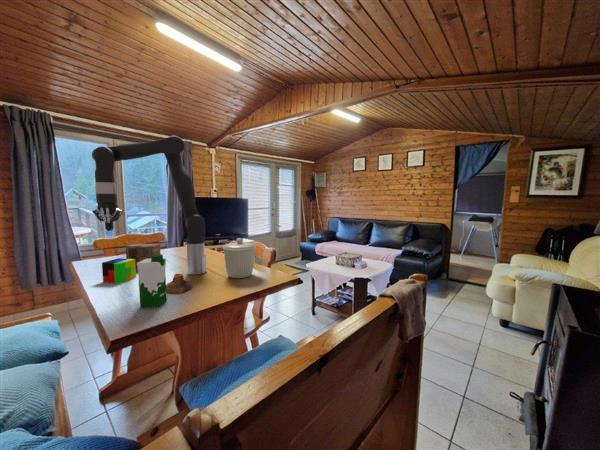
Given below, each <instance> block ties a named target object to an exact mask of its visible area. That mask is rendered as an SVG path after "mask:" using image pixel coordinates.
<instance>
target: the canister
mask: <svg viewBox="0 0 600 450" xmlns="http://www.w3.org/2000/svg"><path fill="white" fill-rule="evenodd" d="M256 248H257V245H256V244H254V243H251V242H247V241H246V242H245V241H244V240H243V238H241V237H237V238H236V242H230V243H226V244H224V245H223V246H222V249H223V254H224V261H225V267H226V274H227V276H229V278H231V279H245V278H249V277H250V276H251V275H252V274H253V271H254V264H255V263H254V262H255V254H256Z"/></svg>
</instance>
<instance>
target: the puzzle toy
mask: <svg viewBox="0 0 600 450" xmlns="http://www.w3.org/2000/svg"><path fill="white" fill-rule="evenodd" d="M136 268H137V267H136V263H135V259H126V258H124V257H123V258H119V257H118V258H115V259H112V260H107V261H104V262H101V271H102V282H103V283H110V284H111V283H113V284H124V283H126V282H128V281H130V280H133V279H135V278H137V269H136Z"/></svg>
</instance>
